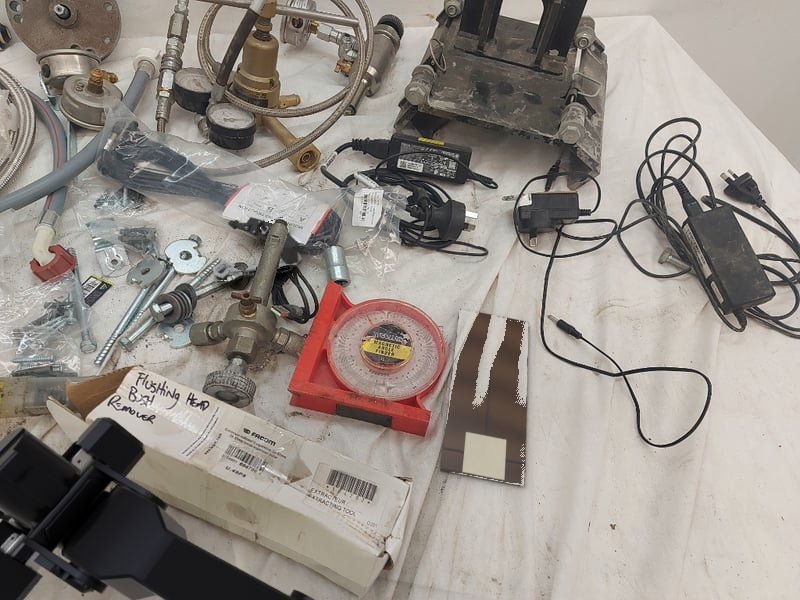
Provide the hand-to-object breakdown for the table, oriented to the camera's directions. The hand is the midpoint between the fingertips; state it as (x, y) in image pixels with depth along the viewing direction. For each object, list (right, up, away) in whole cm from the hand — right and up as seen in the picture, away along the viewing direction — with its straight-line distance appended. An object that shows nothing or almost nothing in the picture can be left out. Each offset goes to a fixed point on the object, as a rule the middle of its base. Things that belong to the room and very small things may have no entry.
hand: (37, 496), depth 64 cm
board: (+54, +8, +26) cm, 60 cm away
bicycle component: (+16, +29, +36) cm, 49 cm away
